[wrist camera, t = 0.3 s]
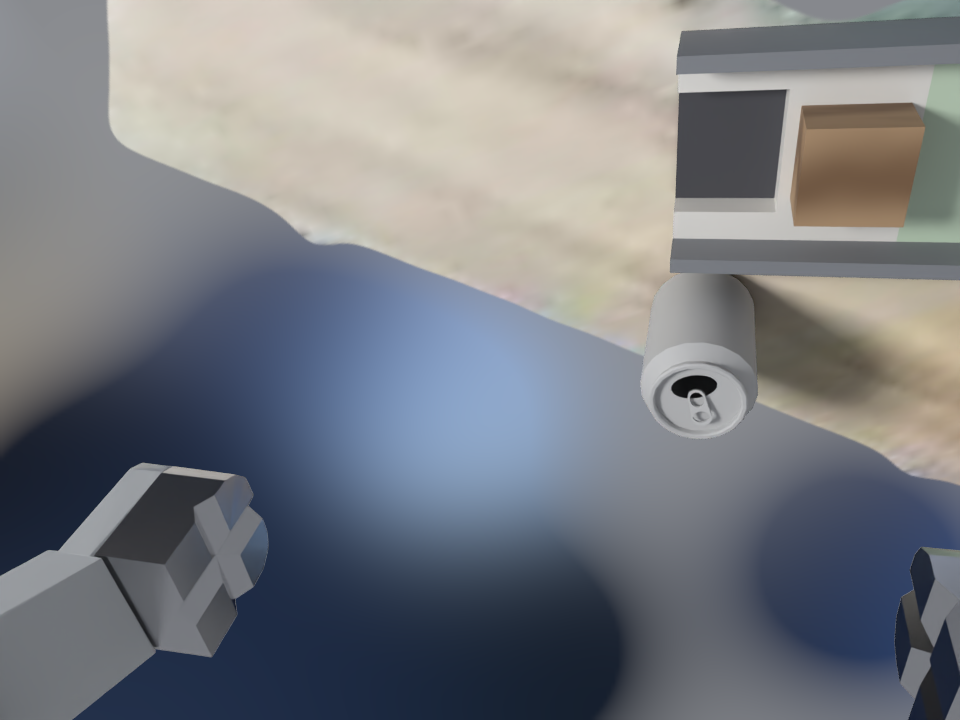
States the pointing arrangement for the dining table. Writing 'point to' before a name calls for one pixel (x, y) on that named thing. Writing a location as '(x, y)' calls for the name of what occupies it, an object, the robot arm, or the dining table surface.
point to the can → (700, 355)
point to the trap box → (773, 139)
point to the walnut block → (855, 164)
